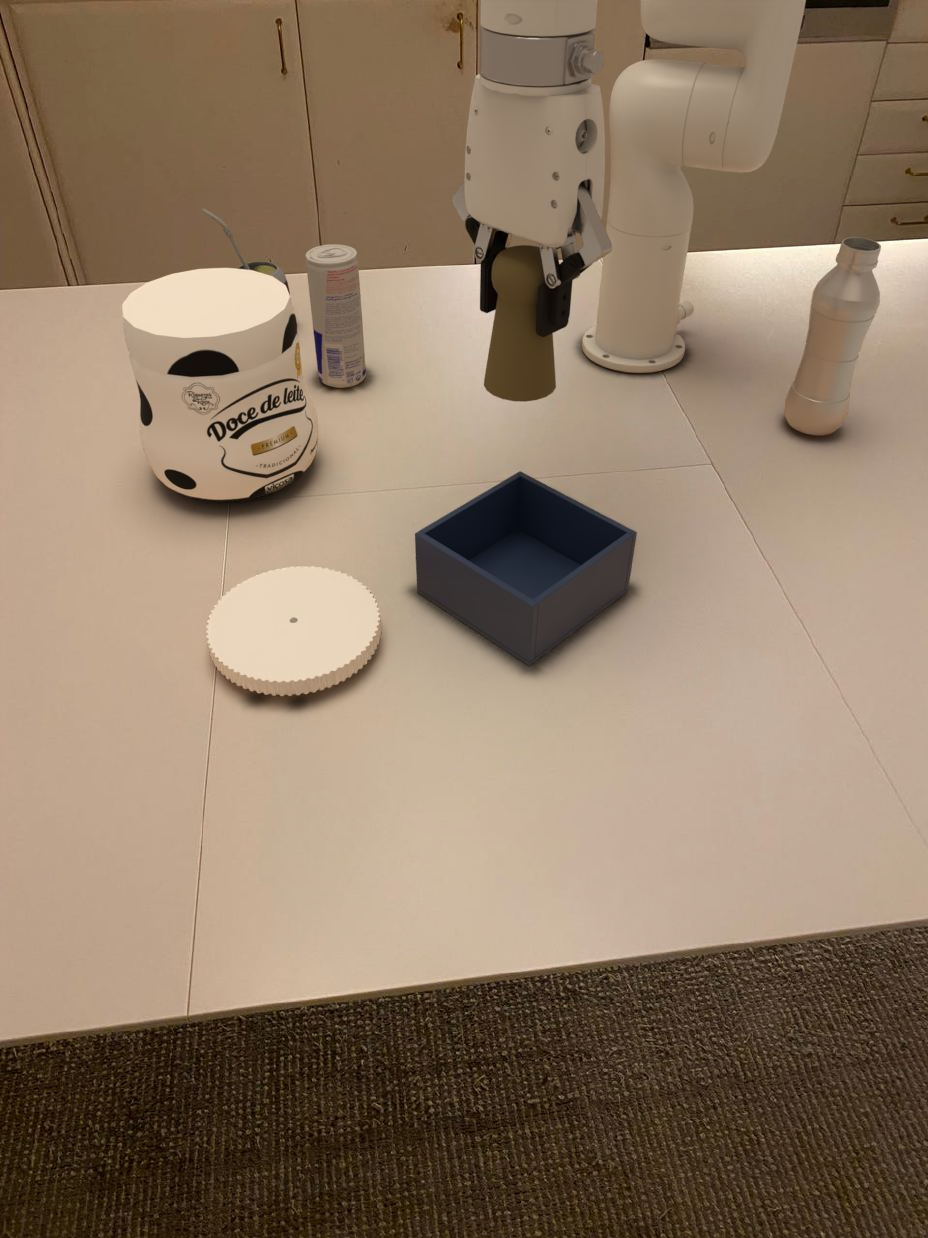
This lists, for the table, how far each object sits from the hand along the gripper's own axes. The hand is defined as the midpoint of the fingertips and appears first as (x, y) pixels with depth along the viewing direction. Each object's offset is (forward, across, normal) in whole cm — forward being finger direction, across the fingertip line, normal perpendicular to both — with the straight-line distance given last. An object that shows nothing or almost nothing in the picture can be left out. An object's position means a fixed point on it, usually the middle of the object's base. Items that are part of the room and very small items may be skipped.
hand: (523, 316), depth 75 cm
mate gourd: (+22, +52, -9) cm, 57 cm away
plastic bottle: (+22, -10, -38) cm, 45 cm away
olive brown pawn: (+6, 0, 0) cm, 6 cm away
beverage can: (+22, +35, -8) cm, 42 cm away
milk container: (+22, +28, +12) cm, 37 cm away
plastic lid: (+22, +3, +23) cm, 32 cm away
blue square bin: (+22, -6, +5) cm, 23 cm away
